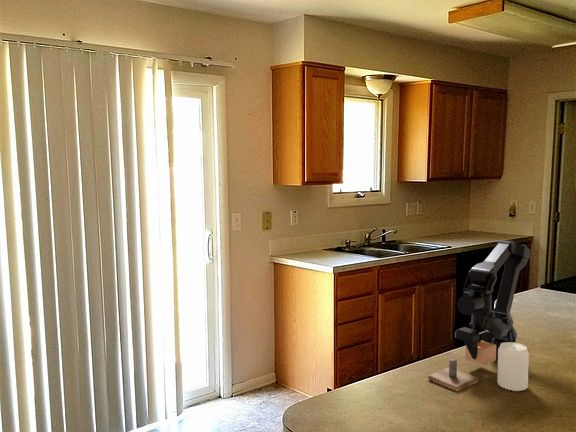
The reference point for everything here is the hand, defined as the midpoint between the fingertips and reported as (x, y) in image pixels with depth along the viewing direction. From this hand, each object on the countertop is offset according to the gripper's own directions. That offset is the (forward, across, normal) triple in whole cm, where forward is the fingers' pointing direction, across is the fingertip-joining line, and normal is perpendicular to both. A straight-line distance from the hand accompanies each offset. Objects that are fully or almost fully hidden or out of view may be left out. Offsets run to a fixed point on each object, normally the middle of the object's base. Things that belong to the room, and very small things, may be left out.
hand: (480, 356), depth 162 cm
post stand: (+4, -14, 0) cm, 15 cm away
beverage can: (+4, -4, -13) cm, 14 cm away
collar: (+1, 0, 0) cm, 1 cm away
